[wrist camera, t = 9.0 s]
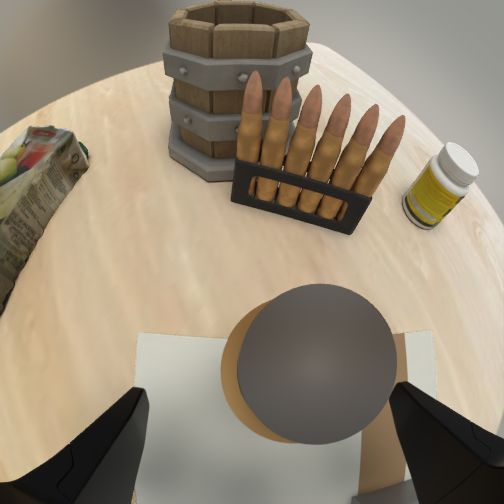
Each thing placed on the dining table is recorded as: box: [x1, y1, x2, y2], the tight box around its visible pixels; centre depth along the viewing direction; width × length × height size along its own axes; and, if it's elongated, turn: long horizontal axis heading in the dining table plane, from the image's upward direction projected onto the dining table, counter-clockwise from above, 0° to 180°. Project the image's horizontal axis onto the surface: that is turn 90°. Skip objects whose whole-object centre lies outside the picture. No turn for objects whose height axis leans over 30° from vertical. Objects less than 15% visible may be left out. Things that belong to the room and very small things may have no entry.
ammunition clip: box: [231, 71, 405, 235], centre depth 18 cm, size 11×2×12 cm, turn 75°
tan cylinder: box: [220, 284, 397, 445], centre depth 11 cm, size 4×4×13 cm
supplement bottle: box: [403, 142, 479, 229], centre depth 21 cm, size 5×5×8 cm
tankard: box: [163, 0, 313, 181], centre depth 22 cm, size 20×13×15 cm, turn 7°
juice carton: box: [0, 125, 90, 310], centre depth 19 cm, size 20×10×6 cm, turn 161°
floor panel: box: [134, 330, 437, 504], centre depth 14 cm, size 18×22×1 cm
